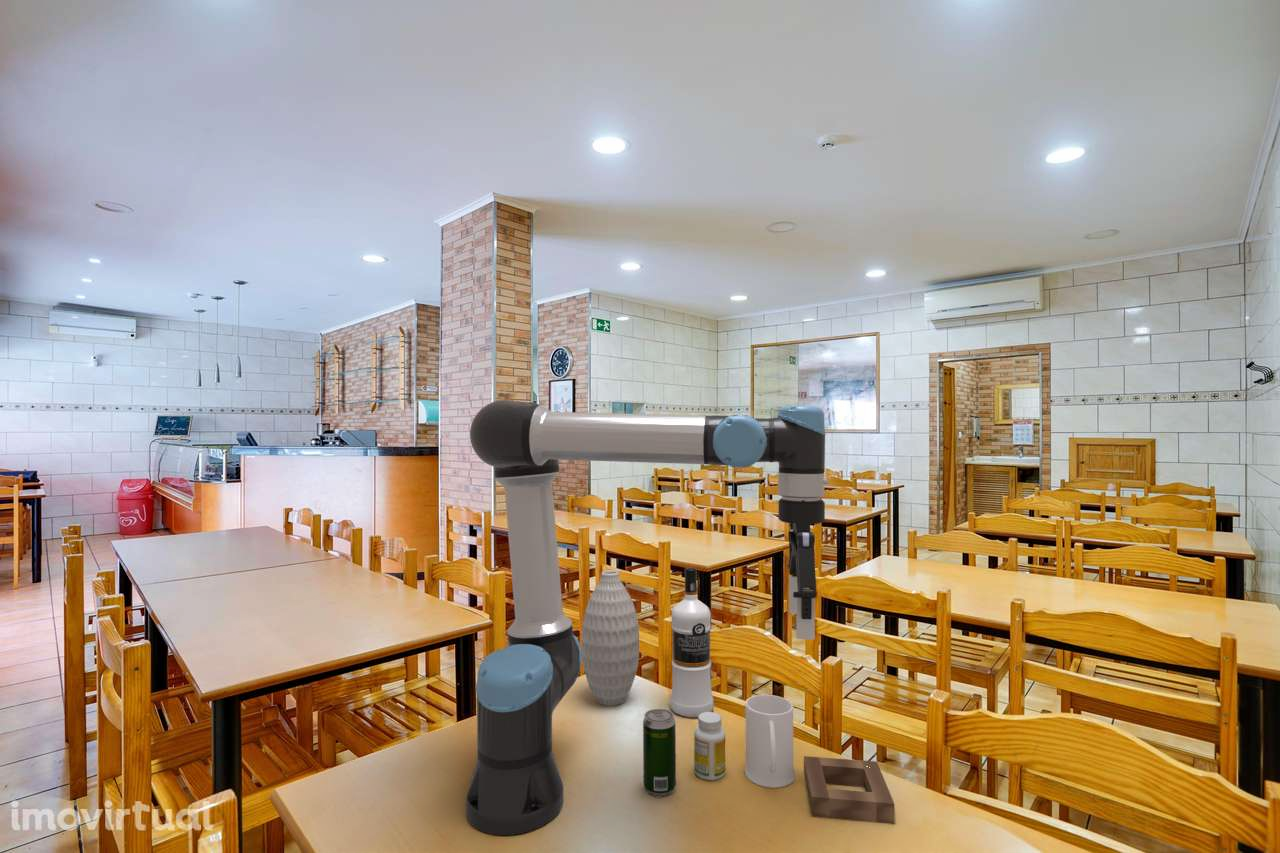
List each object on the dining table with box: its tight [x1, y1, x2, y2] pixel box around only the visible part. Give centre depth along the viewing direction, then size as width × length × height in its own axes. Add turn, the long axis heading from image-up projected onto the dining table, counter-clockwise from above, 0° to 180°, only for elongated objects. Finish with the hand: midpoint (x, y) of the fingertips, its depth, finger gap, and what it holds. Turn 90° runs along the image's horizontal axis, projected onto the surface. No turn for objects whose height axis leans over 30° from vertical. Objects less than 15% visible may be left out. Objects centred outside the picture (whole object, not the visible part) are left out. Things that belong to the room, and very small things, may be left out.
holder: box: [803, 755, 896, 825], centre depth 99 cm, size 12×12×3 cm
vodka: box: [669, 567, 715, 719], centre depth 131 cm, size 9×9×30 cm
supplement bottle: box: [693, 711, 726, 781], centre depth 106 cm, size 5×5×10 cm
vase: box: [581, 569, 640, 707], centre depth 136 cm, size 13×13×28 cm
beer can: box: [642, 708, 677, 798], centre depth 102 cm, size 5×5×12 cm
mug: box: [744, 694, 796, 789], centre depth 104 cm, size 12×8×12 cm
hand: (800, 625), depth 103 cm, fingers open, 13 cm apart
